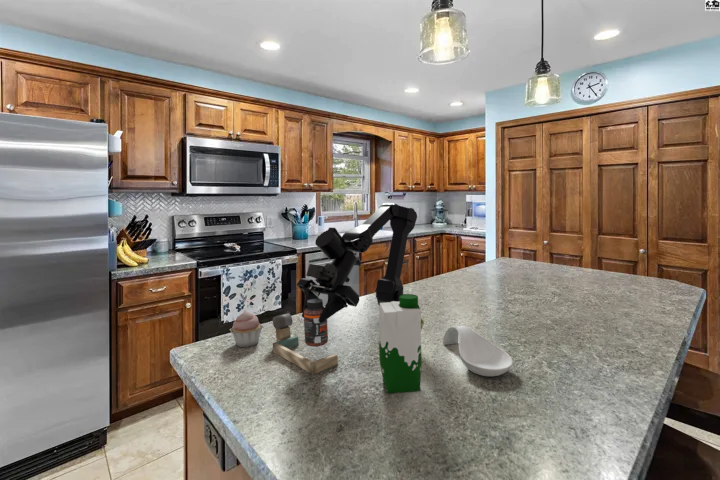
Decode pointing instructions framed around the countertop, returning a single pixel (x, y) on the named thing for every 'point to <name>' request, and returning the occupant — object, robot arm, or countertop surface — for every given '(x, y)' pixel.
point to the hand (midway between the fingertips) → (311, 319)
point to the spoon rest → (478, 352)
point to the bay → (299, 360)
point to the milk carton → (400, 344)
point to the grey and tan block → (282, 326)
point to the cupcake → (246, 329)
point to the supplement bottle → (315, 324)
